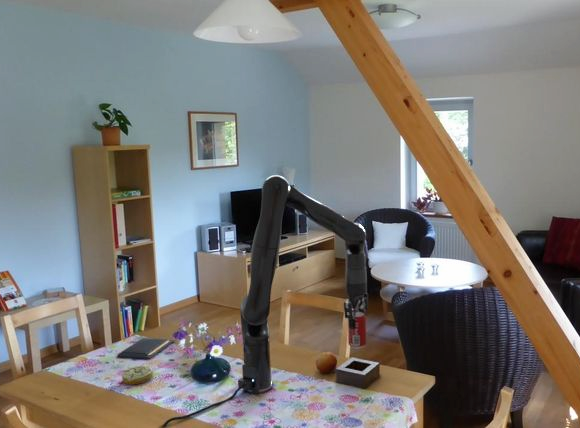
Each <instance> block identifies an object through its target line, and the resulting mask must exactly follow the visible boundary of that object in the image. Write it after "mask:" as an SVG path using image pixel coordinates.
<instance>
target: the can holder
mask: <svg viewBox="0 0 580 428" xmlns="http://www.w3.org/2000/svg"><path fill="white" fill-rule="evenodd" d="M380 366H381V365H380V362H376V361H372V360H367V359H363V358H357V357H350V358H349V359H347V360H346V361H344V362H343V363H342V364H341V365H339V366H337V367H336V368H335V383H338V384H343V385H347V386H352V387H356V388H360V389H364V390H365V389H367V388H368V387H369V386H370V385H371V384H372V383H373V382H375V381H376V380H377V379H378V378H379V377H380V376H381V371H380V370H381V369H380V368H381V367H380Z"/></svg>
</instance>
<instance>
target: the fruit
mask: <svg viewBox="0 0 580 428" xmlns="http://www.w3.org/2000/svg"><path fill="white" fill-rule="evenodd" d="M337 364H338V358H337V356H336V355H335V354H334V353H333V352H331V351H325V352H322V353H321V354H320V355H318V356H317V358H316V360H315V365H316V369H317V370H318V371H319V372H320V373H323V374H330V373H335V371H336V368H337Z"/></svg>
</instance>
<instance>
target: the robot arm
mask: <svg viewBox="0 0 580 428" xmlns="http://www.w3.org/2000/svg"><path fill="white" fill-rule="evenodd" d="M286 206H287V207H289V208H291V209H292V210H293V209H294V210H295V211H297V212H298V213H299V214H302V215H303V216H304V217H305V218H307V219H309V220H310V221H312V222H313V223H315V224H317V226H320V227H322V228H323V229H325V230H327V231H329V232H330V233H333V234H335V235H336V236H337V237H339V238H340V239H341V240H343V241H344V247H345V272H344V273H345V274H344V276H345V278H344V279H345V282H344V283H345V294H346V295H348V301H344V302H343V311H344V318H345V319H347V320H348V319H349V328H350V329H355V316H356V313H357V312H362V313H364V316H365V315H366V310H368V309H369V293H368V276H367V264H366V263H367V261H366V260H367V259H366V252H365V242H366V240H367V232H366V230H365V229H364V227H363V226H362V225H361V224H360V223H357V222H353V221H351V220H349V219H347V218H346V217H344V216H343V214H341V213H340V212H338V211H337V210H335V209H333V208H331V207H329V206H328V205H325V204H324V203H322V202H319V201H318V200H315V199H314V198H312V197H310V196H308V195H307V194H304V193H303V192H301V191H300V190H298V189H297V188H296V187H295V186H293V185H292V184H291V183H289V181H288V180H287V179H286V178H285V177H284V176H282V175H279V174H274V175H270V176H268V177H267V178H266V179H265V180H264V181H263V184H262V187H261V207H260V215H259V219H258V223H257V226H256V229H255V232H254V236H253V241H252V246H251V251H250V263H249V264H250V265H249V266H250V267H249V268H250V269H249V270H250V272H249V273H250V282H249V283H250V284H249V288H248V293H247V295H245V296H244V298H243V299H242V300H241V303H240V307H239V308H240V310H239V311H240V313H239V314H240V327H241V335H242V351H243V364H242V365H241V368H242V370H241V371H242V377H241V378H238V380H237V389H236V390H235V391H234V392H233V394H232V395H231V396H229V397H228V398H226V399H224V400H221V401H217V402H215V403H212V404H209V405H208V406H205V407H202V408H200V409H197V410H195V411H193V412H191V413H188V414H185V415H181V416H174V417H170V418H169V419H167V420H166V421H165V422H163V424H162V425H161V426H162V428H166V426H167V425H168V424H169V423H172V422H173V421H178V420H185V419H189V418H190V417H193V416H196V415H198V414H200V413H202V412H205V411H207V410H209V409H211V408H214V407H217V406H220V405H222V404H225V403H226V402H228V401H231V400H233V399H234V398H235V397H236V396H237V394H238V393H239V392H240V391H241V390H243V391H244V392H247V393H251V394H253V395H259V394H261V393H265V392H268V391H269V390H271V389H272V388H273V382H272V364H271V363H272V362H271V361H272V360H271V340H270V339H271V338H270V330H269V322H268V320H269V319H268V318H269V316H270V312H271V295H272V287H273V282H274V278H275V274H276V269H277V266H278V265H277V264H278V260H279V255H280V248H281V241H282V239H281V238H282V226H283V225H282V223H283V216H284V212H285V208H286ZM352 312H353V315H352ZM365 317H366V316H365Z"/></svg>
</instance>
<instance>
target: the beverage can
mask: <svg viewBox="0 0 580 428" xmlns="http://www.w3.org/2000/svg"><path fill="white" fill-rule="evenodd" d="M352 315H353V312H352ZM366 319H367V318H366V316H364V313H362V312H357V313H356V316H355V329H350V328H349V319H348V318H347V325H348V326H347V333H348V334H347V335H348V337H347V338H348V339H347V340H348V345H349V346H350V348H352V349H357V350H358V349H363V348H364V347H365V346H366V345H367V321H366Z"/></svg>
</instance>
